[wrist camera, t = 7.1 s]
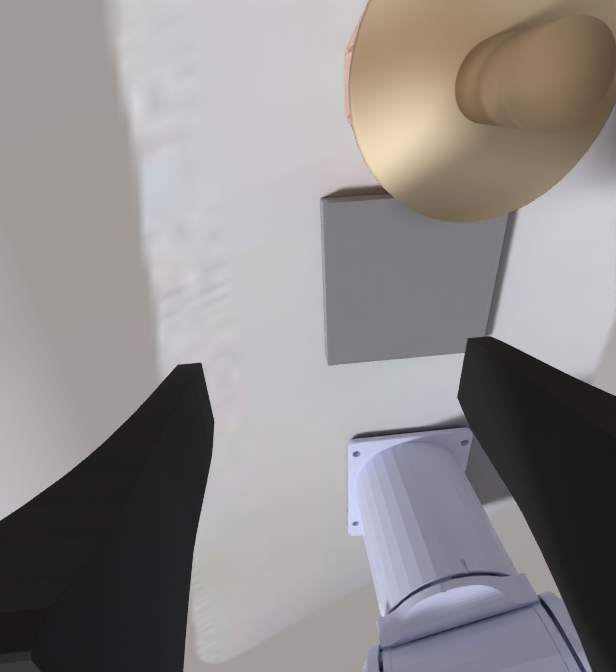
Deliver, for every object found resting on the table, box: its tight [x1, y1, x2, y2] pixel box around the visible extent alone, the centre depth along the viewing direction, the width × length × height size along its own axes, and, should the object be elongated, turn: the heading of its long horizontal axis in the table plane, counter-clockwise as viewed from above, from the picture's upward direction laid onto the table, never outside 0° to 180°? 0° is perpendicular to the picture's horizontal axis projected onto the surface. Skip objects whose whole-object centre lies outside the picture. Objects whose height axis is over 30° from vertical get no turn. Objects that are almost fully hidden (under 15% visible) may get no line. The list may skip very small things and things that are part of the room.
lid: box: [348, 0, 616, 223], centre depth 12 cm, size 9×9×5 cm
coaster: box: [320, 194, 509, 365], centre depth 20 cm, size 8×8×1 cm
